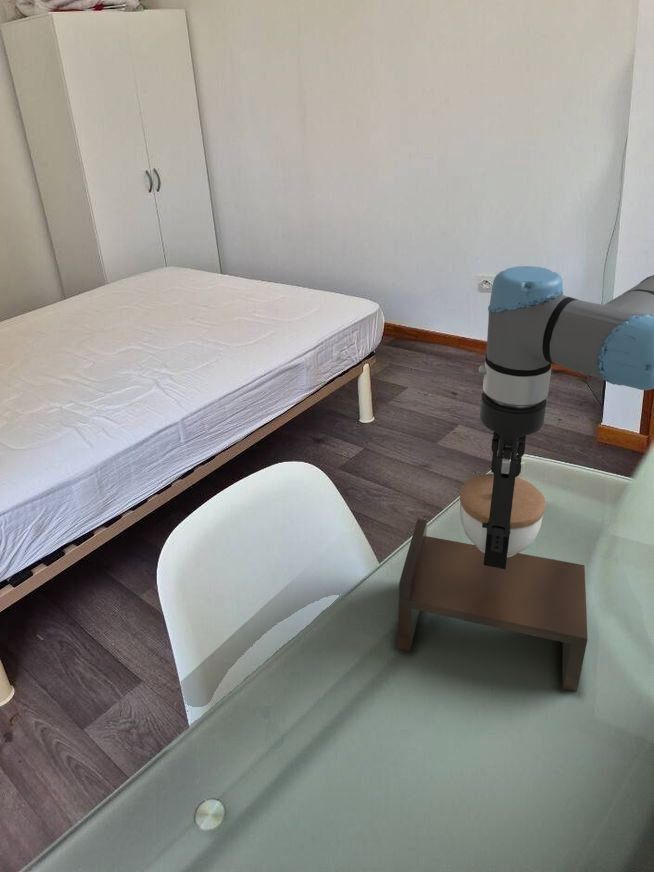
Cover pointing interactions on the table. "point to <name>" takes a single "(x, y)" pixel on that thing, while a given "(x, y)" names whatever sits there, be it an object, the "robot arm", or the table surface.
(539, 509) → the trinket box
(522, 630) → the shelf
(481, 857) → the table surface
